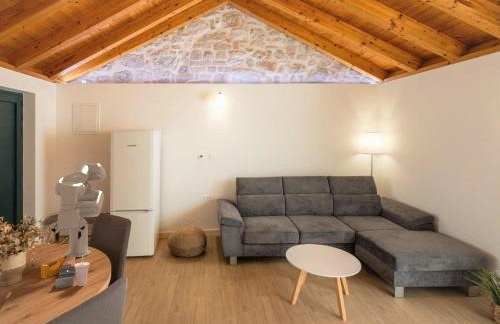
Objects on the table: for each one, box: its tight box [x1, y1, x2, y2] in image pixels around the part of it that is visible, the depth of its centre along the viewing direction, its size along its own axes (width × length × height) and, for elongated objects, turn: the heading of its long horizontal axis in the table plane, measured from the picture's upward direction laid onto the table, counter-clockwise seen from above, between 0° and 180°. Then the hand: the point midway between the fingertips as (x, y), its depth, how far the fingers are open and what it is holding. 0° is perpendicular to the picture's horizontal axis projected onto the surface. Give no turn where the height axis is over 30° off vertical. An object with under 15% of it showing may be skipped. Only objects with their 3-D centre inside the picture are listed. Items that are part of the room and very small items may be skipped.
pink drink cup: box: [74, 255, 90, 287], centre depth 143 cm, size 6×6×14 cm
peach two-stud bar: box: [62, 256, 76, 267], centre depth 161 cm, size 12×4×5 cm, turn 21°
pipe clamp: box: [40, 257, 66, 280], centre depth 155 cm, size 12×4×6 cm, turn 170°
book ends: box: [54, 266, 76, 289], centre depth 147 cm, size 17×7×4 cm, turn 26°
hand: (68, 239), depth 161 cm, fingers open, 9 cm apart
